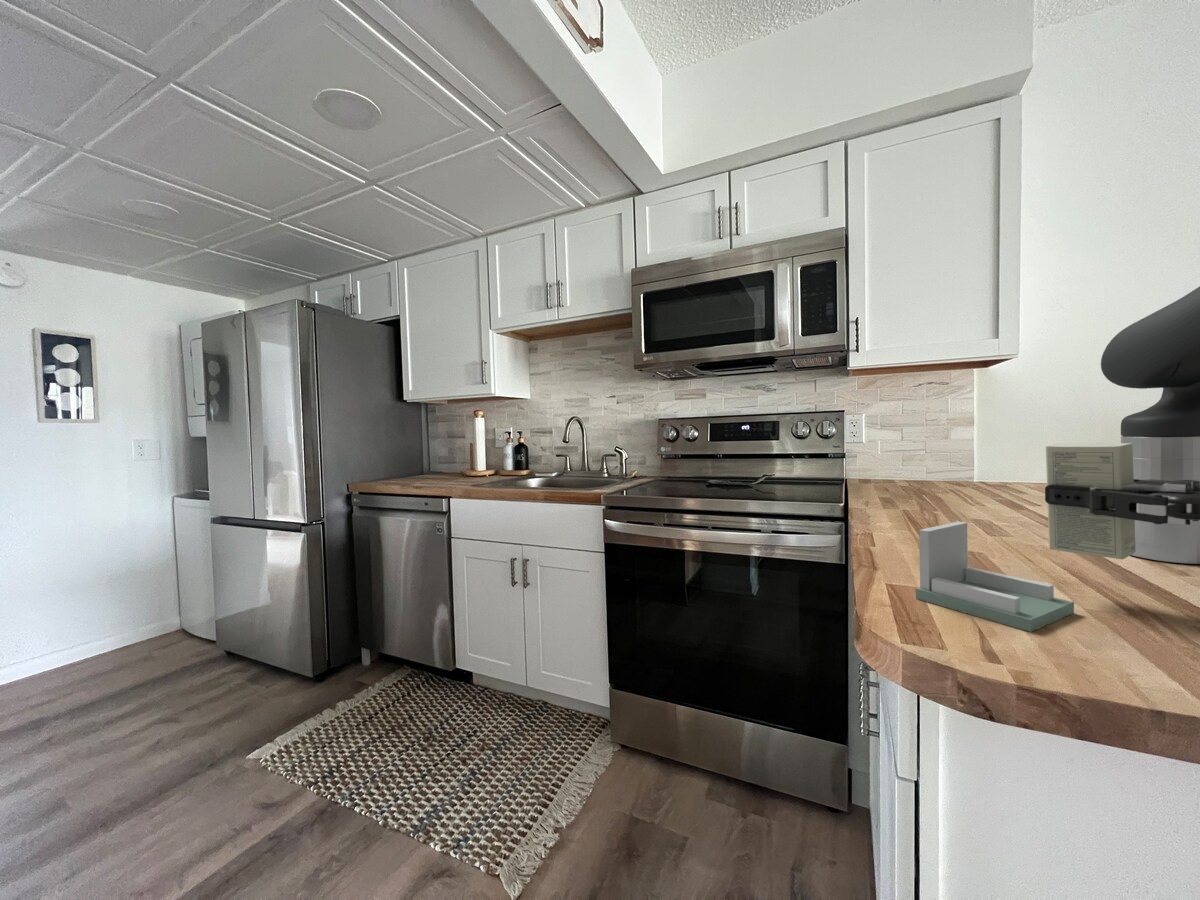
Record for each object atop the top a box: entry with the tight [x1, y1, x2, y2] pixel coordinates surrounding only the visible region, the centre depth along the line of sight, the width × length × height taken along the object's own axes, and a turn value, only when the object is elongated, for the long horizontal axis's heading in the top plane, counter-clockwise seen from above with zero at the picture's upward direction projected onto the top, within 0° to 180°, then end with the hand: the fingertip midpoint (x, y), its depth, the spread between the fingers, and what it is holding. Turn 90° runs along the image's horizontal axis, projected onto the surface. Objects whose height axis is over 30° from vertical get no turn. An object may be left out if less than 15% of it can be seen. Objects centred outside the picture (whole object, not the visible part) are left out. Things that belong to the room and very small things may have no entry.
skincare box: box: [1045, 442, 1135, 560], centre depth 54 cm, size 6×4×12 cm
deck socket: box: [915, 521, 1075, 633], centre depth 54 cm, size 9×11×8 cm
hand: (1058, 491), depth 56 cm, fingers closed on skincare box, 4 cm apart
